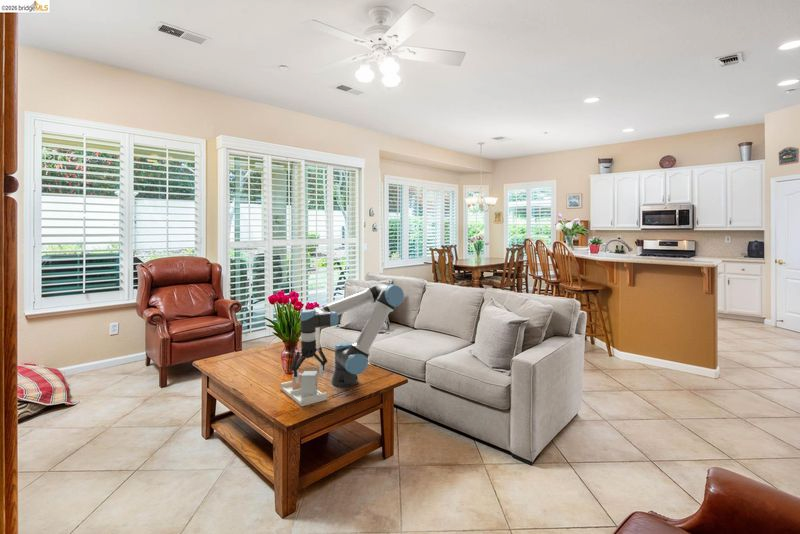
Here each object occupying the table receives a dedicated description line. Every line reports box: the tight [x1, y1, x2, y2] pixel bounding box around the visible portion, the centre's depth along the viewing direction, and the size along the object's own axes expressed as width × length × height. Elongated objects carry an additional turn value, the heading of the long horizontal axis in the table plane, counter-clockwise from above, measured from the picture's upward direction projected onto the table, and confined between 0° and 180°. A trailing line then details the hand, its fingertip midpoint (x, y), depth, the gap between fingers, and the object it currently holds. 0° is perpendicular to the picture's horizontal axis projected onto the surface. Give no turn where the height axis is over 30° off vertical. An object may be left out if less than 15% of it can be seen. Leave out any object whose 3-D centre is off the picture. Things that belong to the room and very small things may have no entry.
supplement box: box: [301, 370, 318, 399], centre depth 207 cm, size 7×7×13 cm
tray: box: [280, 372, 328, 407], centre depth 213 cm, size 14×27×9 cm, turn 39°
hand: (309, 379), depth 208 cm, fingers open, 13 cm apart
